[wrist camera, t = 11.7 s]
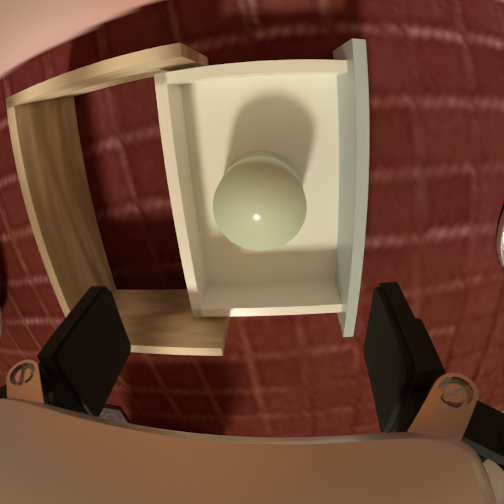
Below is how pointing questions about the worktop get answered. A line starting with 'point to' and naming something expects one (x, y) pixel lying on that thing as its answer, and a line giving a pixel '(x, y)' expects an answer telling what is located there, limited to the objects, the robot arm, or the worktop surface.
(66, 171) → the sleeve
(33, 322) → the worktop surface
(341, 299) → the tray
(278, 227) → the cream glossy rounded part
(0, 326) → the serving bowl
